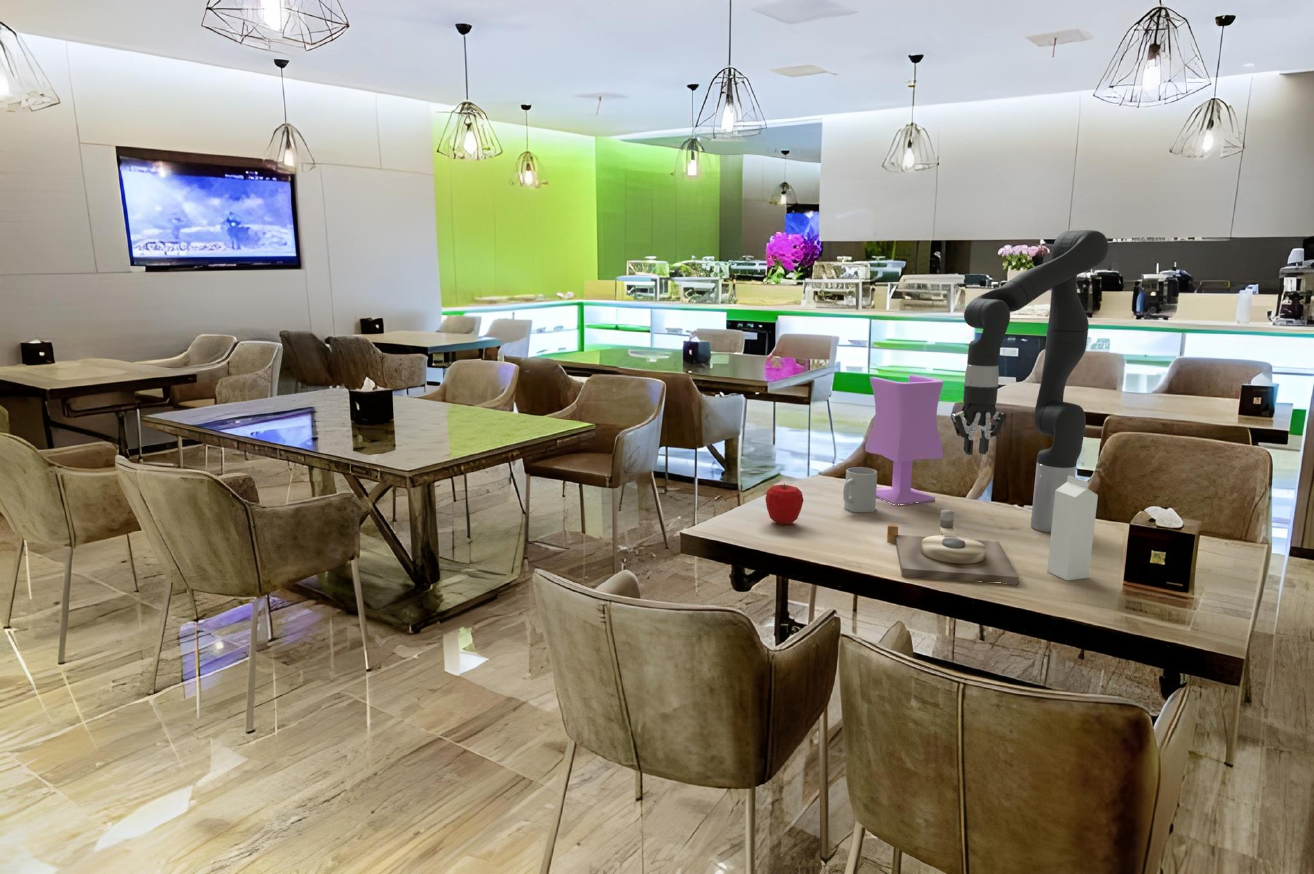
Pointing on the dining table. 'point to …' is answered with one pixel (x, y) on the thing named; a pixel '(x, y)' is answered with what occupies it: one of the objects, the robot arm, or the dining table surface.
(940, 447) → the table lamp
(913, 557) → the base plate
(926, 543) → the crank handle
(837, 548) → the dining table surface
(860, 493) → the mug
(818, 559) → the dining table surface
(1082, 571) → the milk
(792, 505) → the apple
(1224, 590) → the dining table surface
